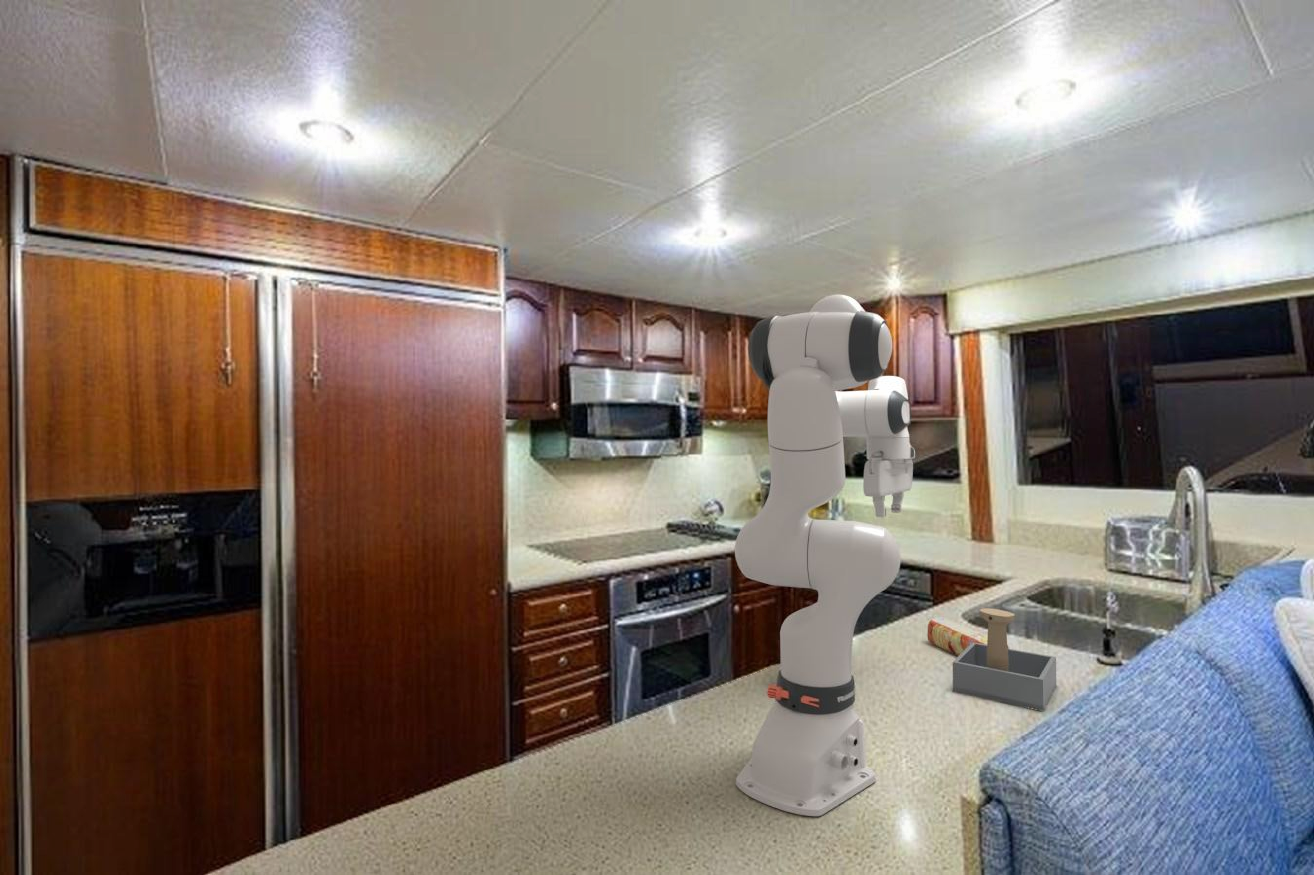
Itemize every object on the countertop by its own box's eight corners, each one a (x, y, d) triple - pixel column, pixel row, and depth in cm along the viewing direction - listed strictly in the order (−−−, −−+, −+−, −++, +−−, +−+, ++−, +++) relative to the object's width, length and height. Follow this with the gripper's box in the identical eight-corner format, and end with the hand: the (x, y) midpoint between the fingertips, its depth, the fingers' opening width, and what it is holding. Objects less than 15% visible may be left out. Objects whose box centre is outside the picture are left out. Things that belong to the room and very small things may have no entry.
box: (1043, 711, 122) (1042, 679, 122) (952, 691, 132) (952, 662, 132) (1056, 685, 134) (1056, 657, 134) (972, 669, 144) (972, 642, 144)
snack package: (1013, 671, 144) (1013, 640, 144) (988, 674, 142) (987, 643, 142) (947, 642, 164) (947, 615, 164) (925, 644, 162) (924, 617, 162)
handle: (989, 678, 136) (988, 607, 136) (1020, 688, 130) (1019, 614, 130) (975, 683, 133) (975, 610, 133) (1006, 693, 128) (1005, 617, 128)
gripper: (885, 452, 131) (886, 520, 131) (917, 450, 147) (918, 511, 147) (855, 452, 135) (855, 518, 135) (889, 450, 151) (890, 509, 151)
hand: (888, 514), depth 141 cm, fingers open, 8 cm apart
